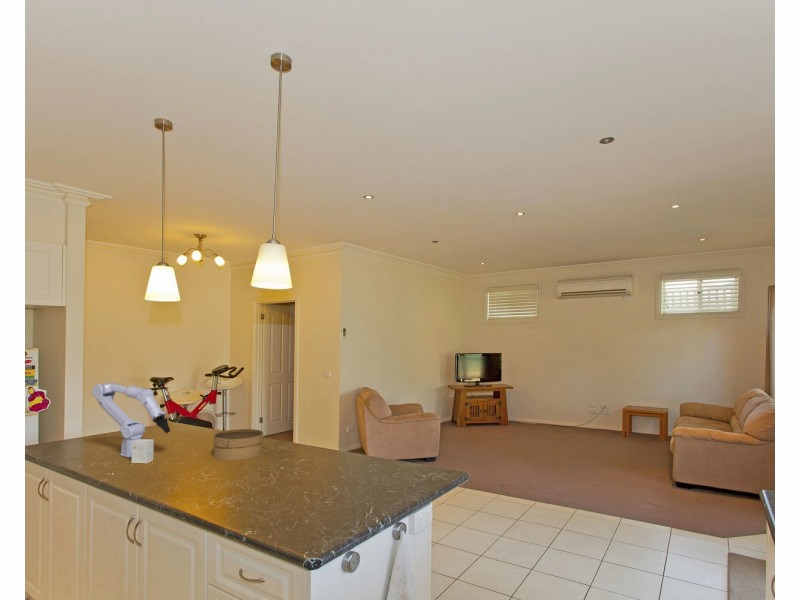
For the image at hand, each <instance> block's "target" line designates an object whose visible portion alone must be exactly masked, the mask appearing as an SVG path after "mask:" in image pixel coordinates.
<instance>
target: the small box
mask: <svg viewBox="0 0 800 600" xmlns="http://www.w3.org/2000/svg"><path fill="white" fill-rule="evenodd" d="M154 445H155V440H154V439H152V438H151V439H148V438H147V439H145V438H141V439H139V440H136V441H133V442H132V457H131V461H130V462H131V463H145V464H147V463H149V462H151V461H153V459H154V450H155V449H154V447H155V446H154Z"/></svg>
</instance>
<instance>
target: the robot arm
mask: <svg viewBox="0 0 800 600" xmlns="http://www.w3.org/2000/svg"><path fill="white" fill-rule="evenodd" d="M116 393H120V394H124V395H125V396H126V397H127V398H131V399H136V401H137V402H140V403H141V404H142V405H143V407H144V408H145V410H146V411H147V413H148V414H149V417H150V418H151V421H152V422H153V423H154V424H156V426H157V427H160V428H161V429H162V430H163V432H164V433H166V434H168V433H169V432H171V429H170V426H169V423H168V422H169V421H168V417H165V414H167V411H163V410H162V409H161V407H160V405H159V404H158V402H157V400H156V399H155V398H154V392H153V390H152V389H150V388H146V389H144V387H137V385H129V386H125V385H121V384H117V383H115V382H108V383H100V384H99V383H98V384H95V385H93V387H92V396H93V397H94V398H96V401H97V402H98V405H99V407H101V409H102V410H104V411H105V413H107V415H109V417H111V418H112V419H113V421H114V422H116V423H117V424H118V425H119V426H120V429H119V432H121V435H122V437H123V439H122V441H121V451H120V453H119V456H120V455H121V457H125V458H129V457H130V458H132V442H133V441H136V440H139V439H142V437H143V435H144V434H145V432H146V426H145V425H144V424H143V423H141V422H139V421H138V420H135V419H131V418H130V417H129V416H128V415H127V414H126V413H125V412H124V411H123V410H122V409H121V408H120V407H119V406H118V405H117V404H116V403H115V402H114V401H113V400H114V398H115V394H116Z"/></svg>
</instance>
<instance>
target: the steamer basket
mask: <svg viewBox="0 0 800 600" xmlns="http://www.w3.org/2000/svg"><path fill="white" fill-rule="evenodd" d="M263 442H264V431H263V430H261V429H254V428H252V429H251V428H250V429H249V428H240V429H229V430H223V431H218V432H216V433H215V434H214V435H213V458H214V459H215V458H216V459H215V460H218V459H221V460H220V461H225V460H238V461H240V460H239V459H247V458H251V457H255V456H258V455H260V454H261V453H262V454H263ZM262 454H261V455H262ZM261 455H260V456H261ZM258 457H259V456H258ZM255 458H256V457H255ZM247 460H248V459H247Z"/></svg>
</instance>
